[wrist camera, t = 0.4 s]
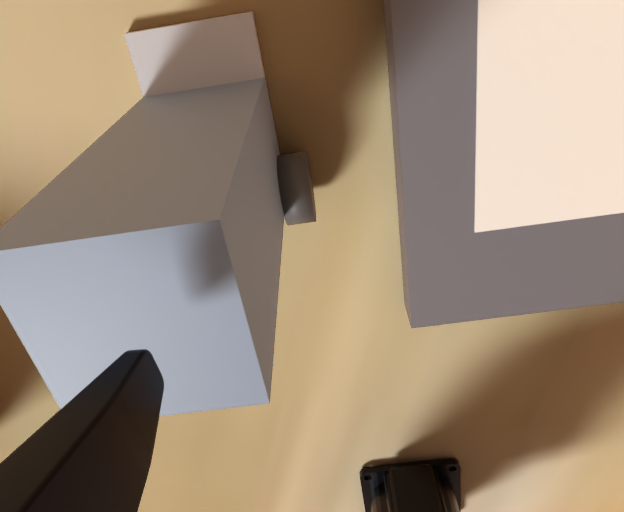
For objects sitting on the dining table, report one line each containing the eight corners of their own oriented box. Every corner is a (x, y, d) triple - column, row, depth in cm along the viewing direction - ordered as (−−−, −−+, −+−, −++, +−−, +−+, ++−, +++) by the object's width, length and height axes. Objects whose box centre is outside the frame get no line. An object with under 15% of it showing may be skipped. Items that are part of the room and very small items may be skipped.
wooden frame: (680, 269, 26) (745, 324, 22) (404, 304, 27) (421, 363, 23) (800, -188, 17) (947, -228, 13) (375, -111, 18) (395, -128, 14)
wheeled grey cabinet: (315, 203, 24) (324, 426, 13) (161, 225, 24) (41, 457, 13) (283, 5, 20) (254, 80, 8) (97, 37, 20) (-161, 147, 9)
